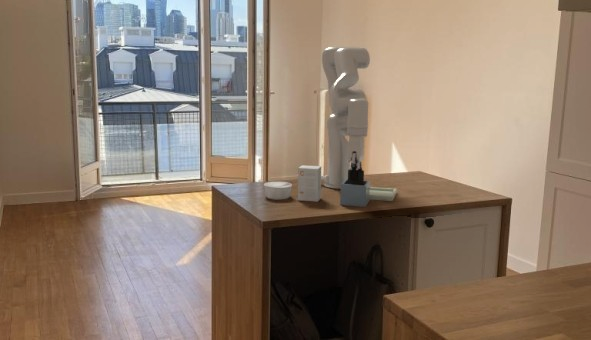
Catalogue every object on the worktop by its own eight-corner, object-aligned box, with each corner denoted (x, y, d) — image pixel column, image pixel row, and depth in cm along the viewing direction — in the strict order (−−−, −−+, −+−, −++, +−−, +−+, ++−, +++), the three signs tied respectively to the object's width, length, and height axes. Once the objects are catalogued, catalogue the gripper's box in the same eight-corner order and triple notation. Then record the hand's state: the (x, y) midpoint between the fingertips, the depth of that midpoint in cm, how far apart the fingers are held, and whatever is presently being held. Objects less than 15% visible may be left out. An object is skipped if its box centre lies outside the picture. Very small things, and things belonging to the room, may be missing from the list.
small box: (321, 198, 237) (321, 166, 235) (317, 202, 231) (318, 168, 229) (301, 197, 239) (301, 164, 237) (297, 200, 233) (297, 167, 231)
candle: (352, 204, 227) (354, 139, 223) (345, 201, 232) (347, 137, 227) (364, 203, 229) (366, 139, 225) (357, 200, 234) (359, 137, 229)
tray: (354, 198, 238) (354, 193, 238) (360, 190, 252) (360, 186, 252) (392, 201, 234) (392, 196, 234) (396, 193, 249) (396, 188, 248)
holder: (340, 204, 227) (340, 184, 226) (344, 199, 236) (345, 179, 235) (365, 206, 225) (366, 185, 223) (369, 201, 234) (369, 180, 233)
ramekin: (292, 200, 234) (292, 187, 233) (263, 200, 233) (264, 187, 232) (290, 194, 245) (291, 181, 244) (263, 194, 244) (263, 181, 243)
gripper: (351, 129, 235) (350, 174, 238) (343, 134, 218) (341, 182, 222) (370, 129, 233) (368, 175, 236) (363, 135, 216) (361, 183, 220)
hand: (355, 178), depth 229 cm, fingers closed on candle, 6 cm apart
